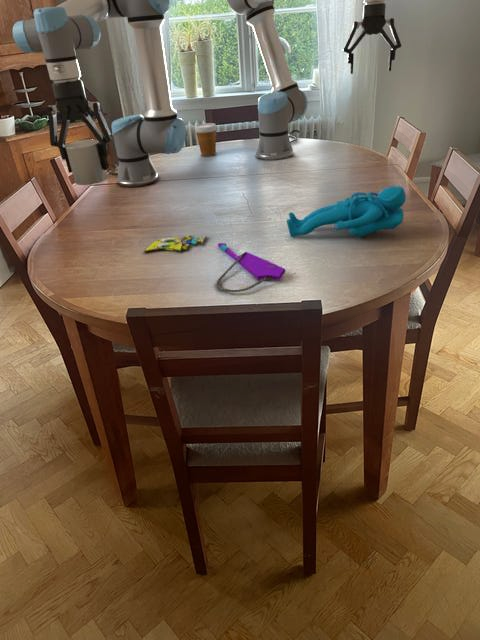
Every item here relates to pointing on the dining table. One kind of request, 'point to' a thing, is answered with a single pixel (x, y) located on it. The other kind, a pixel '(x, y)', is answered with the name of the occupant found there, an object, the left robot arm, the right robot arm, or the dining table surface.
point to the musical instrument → (252, 267)
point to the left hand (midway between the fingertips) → (88, 169)
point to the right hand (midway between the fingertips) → (370, 72)
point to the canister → (86, 162)
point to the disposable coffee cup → (206, 138)
